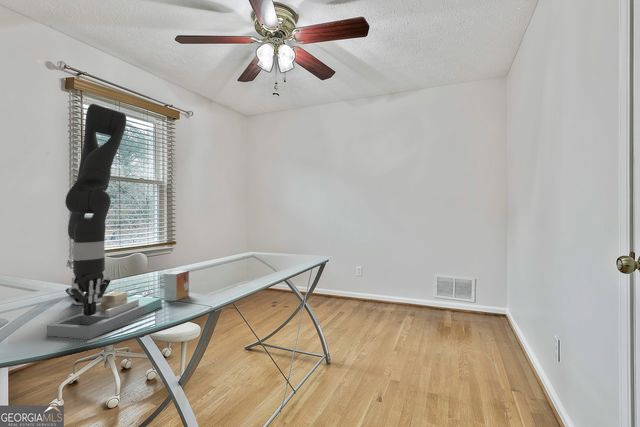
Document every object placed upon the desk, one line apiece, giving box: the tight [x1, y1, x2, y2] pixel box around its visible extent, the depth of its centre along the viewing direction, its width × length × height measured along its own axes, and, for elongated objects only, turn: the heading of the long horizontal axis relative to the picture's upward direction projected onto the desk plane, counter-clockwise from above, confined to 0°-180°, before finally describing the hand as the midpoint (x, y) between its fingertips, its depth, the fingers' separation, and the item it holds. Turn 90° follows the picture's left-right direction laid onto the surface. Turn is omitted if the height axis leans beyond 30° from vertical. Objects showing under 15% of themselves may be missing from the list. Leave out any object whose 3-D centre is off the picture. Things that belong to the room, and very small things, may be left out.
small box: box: [163, 269, 190, 302], centre depth 122 cm, size 8×6×10 cm
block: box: [100, 290, 128, 311], centre depth 99 cm, size 5×5×5 cm
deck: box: [46, 296, 163, 340], centre depth 98 cm, size 14×29×5 cm, turn 171°
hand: (89, 314), depth 91 cm, fingers closed
